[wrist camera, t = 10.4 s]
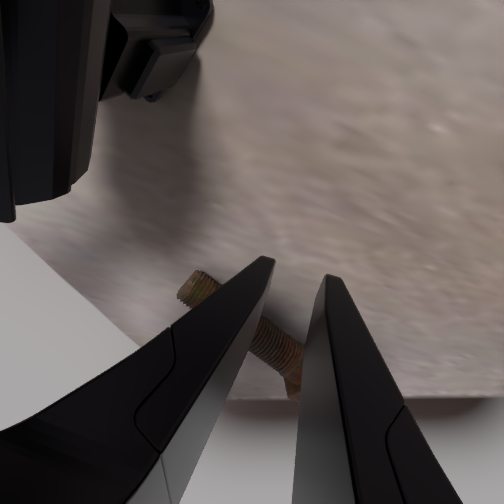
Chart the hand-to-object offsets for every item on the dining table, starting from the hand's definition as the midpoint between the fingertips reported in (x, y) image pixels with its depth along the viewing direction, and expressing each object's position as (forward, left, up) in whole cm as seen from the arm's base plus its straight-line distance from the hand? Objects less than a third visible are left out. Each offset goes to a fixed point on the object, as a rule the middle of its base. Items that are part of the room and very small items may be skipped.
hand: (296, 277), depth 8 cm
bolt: (+8, -15, -12) cm, 21 cm away
